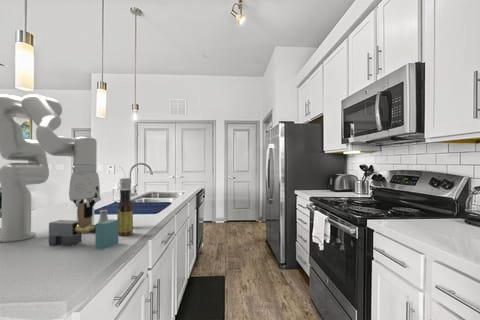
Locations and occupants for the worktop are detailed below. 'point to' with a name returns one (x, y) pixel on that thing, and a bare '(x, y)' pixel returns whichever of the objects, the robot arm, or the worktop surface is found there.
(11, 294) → the worktop surface
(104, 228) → the socket block
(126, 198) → the sauce bottle
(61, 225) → the sleeve
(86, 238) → the worktop surface
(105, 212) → the flask
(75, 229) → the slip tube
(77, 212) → the can
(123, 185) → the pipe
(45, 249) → the worktop surface
